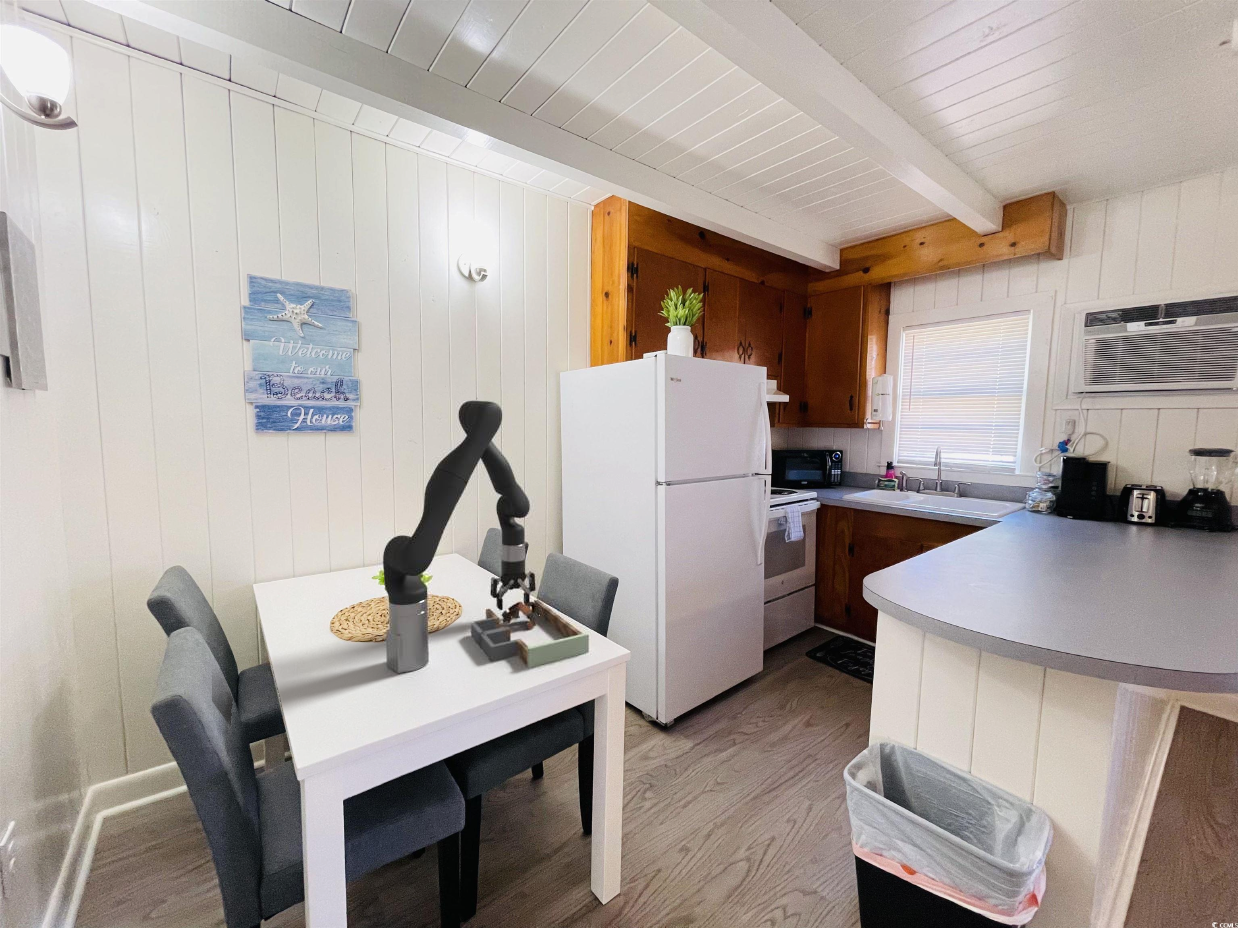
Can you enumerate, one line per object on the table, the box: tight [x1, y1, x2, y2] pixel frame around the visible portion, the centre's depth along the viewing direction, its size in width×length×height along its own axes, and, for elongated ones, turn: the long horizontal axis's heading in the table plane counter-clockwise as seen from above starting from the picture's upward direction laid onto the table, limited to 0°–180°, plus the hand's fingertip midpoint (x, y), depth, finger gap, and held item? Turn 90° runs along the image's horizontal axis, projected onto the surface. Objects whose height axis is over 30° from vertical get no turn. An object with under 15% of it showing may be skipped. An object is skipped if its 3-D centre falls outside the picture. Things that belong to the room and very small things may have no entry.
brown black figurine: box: [501, 601, 537, 631], centre depth 158 cm, size 12×10×8 cm
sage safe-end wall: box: [526, 632, 590, 669], centre depth 135 cm, size 1×17×5 cm, turn 123°
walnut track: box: [485, 599, 584, 666], centre depth 149 cm, size 34×17×4 cm, turn 32°
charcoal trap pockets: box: [470, 617, 518, 663], centre depth 143 cm, size 19×7×4 cm, turn 32°
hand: (513, 606), depth 162 cm, fingers open, 8 cm apart
